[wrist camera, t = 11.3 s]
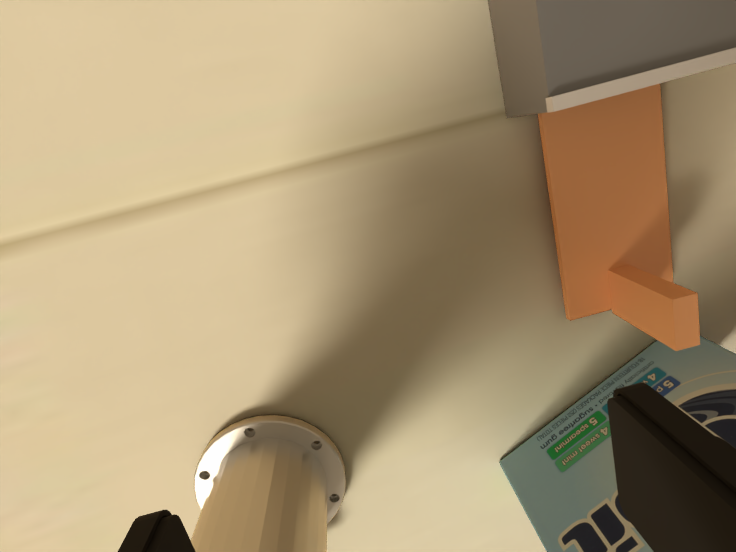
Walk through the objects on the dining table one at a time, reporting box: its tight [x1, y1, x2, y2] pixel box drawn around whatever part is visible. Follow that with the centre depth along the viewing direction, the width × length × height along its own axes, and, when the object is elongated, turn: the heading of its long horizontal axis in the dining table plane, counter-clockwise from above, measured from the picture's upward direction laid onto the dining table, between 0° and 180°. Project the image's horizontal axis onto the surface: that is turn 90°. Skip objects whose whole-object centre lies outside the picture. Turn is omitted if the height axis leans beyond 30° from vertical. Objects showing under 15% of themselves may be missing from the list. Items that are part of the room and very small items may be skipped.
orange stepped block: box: [538, 84, 700, 351], centre depth 31 cm, size 16×8×8 cm, turn 14°
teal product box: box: [499, 336, 736, 552], centre depth 30 cm, size 20×5×23 cm, turn 131°
